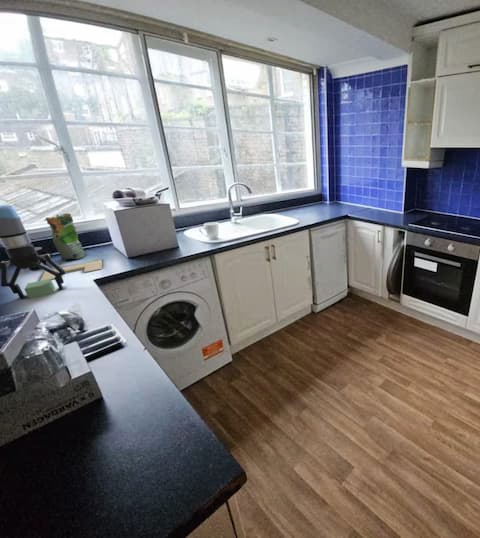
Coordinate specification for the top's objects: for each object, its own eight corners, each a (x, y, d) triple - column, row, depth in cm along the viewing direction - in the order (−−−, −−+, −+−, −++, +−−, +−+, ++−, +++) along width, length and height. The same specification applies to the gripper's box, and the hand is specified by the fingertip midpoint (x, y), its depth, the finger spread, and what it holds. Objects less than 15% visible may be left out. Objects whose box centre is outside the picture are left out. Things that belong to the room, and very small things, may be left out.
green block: (30, 301, 119) (24, 289, 117) (33, 295, 124) (27, 283, 122) (54, 295, 123) (48, 284, 121) (56, 290, 128) (50, 278, 126)
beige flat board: (40, 283, 135) (39, 281, 135) (45, 273, 147) (44, 270, 146) (101, 270, 148) (100, 268, 147) (102, 262, 159) (101, 260, 159)
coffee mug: (22, 270, 150) (12, 252, 146) (41, 264, 158) (33, 247, 154) (40, 272, 148) (31, 253, 144) (59, 265, 156) (51, 247, 152)
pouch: (87, 253, 174) (69, 211, 164) (89, 257, 166) (71, 214, 156) (61, 258, 166) (41, 214, 157) (62, 263, 159) (41, 218, 149)
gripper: (60, 237, 125) (80, 283, 133) (-24, 250, 111) (4, 300, 120) (58, 241, 119) (79, 289, 128) (-31, 255, 106) (0, 307, 114)
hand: (43, 294), depth 124 cm, fingers open, 11 cm apart
